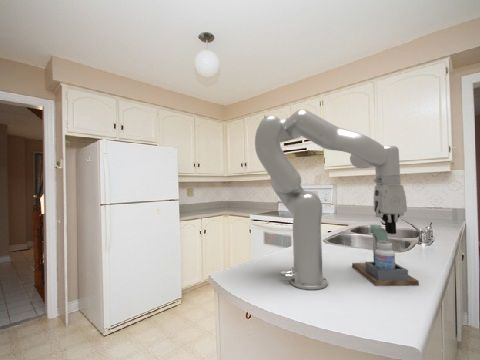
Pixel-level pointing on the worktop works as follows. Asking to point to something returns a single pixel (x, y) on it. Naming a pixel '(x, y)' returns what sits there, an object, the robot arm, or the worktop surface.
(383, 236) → the bar
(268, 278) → the worktop surface
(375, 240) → the post
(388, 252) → the pill bottle
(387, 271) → the socket
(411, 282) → the walnut board
